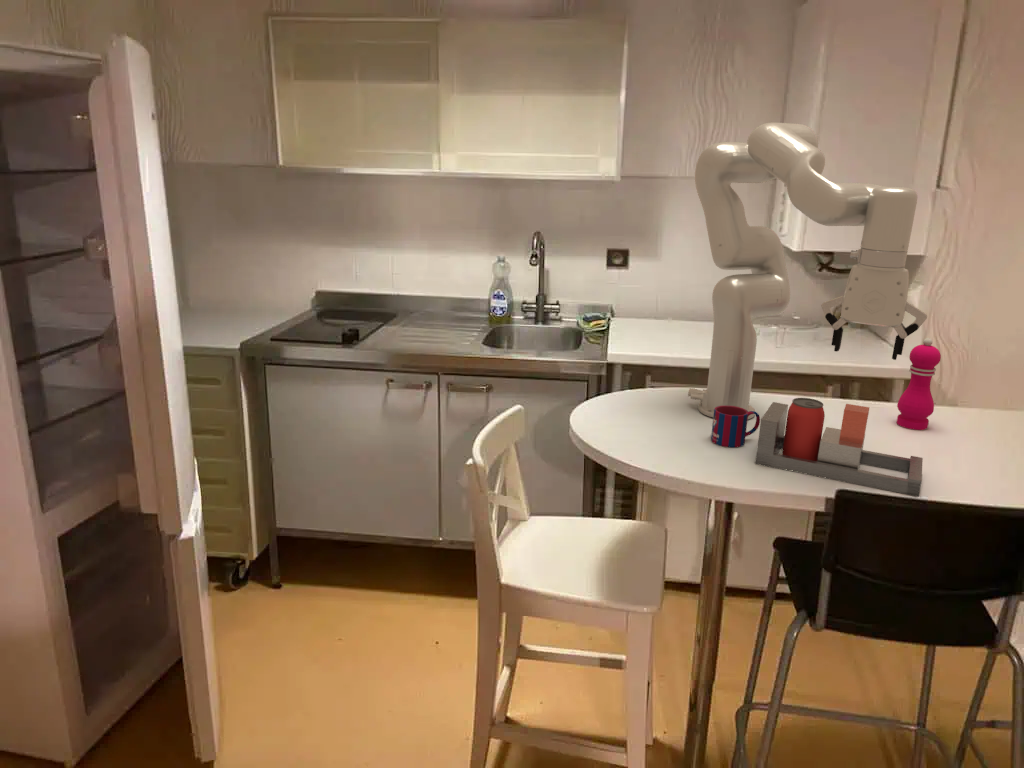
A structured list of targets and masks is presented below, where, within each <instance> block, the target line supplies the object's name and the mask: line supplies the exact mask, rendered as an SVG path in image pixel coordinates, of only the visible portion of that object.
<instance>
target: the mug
mask: <svg viewBox="0 0 1024 768" xmlns="http://www.w3.org/2000/svg"><path fill="white" fill-rule="evenodd" d="M751 414H755V417H756V418H755V420H756V421H755V424H754V426H753V427H752V429H750V430H749V431H747V427H748V420H749V419H748V416H749V415H751ZM712 418H713V420H712V425H711V428H712V429H711V435H710V436H711V437H710V441H711V443H713V444H715V445H718V446H721V447H724V448H733V449H734V448H740V447H743V446H744V445H745V444H746V443H745V442H746V437H748V436H751V435H752V434H754V433H755V432H756V431H757V430H758V428H759V427H760V423H761V417H760V414H759V413H758V412H756V410H755V411H749V412H748V411H747V410H745V409H743V408H740V407H736V406H728V405H723V406H717V407H715V409H714V417H712Z"/></svg>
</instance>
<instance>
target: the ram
mask: <svg viewBox="0 0 1024 768" xmlns="http://www.w3.org/2000/svg"><path fill="white" fill-rule="evenodd" d="M869 413H870V407H869V406H864V405H863V406H862V405H856V404H851V403H846V404H845V406H844V408H843V415H842V416H843V417H842V420H841V426H840V428H836V427H829V426H828V427H827V426H826V427H825V429H824V431H823V433H822V437H821V441H820V447H819V454H818V460H817V462H822V463H827V464H833V465H838V466H843V467H848V468H853V469H858V470H860V466H861V464H860V462H861V456H862V450H864V444H865V437H866V431H867V424H868V419H869Z"/></svg>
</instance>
